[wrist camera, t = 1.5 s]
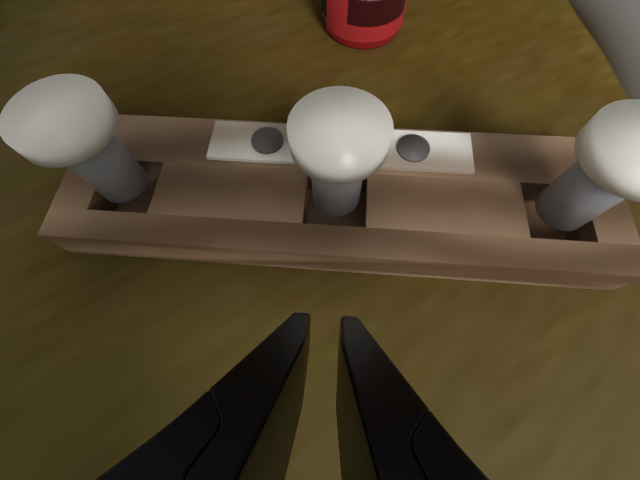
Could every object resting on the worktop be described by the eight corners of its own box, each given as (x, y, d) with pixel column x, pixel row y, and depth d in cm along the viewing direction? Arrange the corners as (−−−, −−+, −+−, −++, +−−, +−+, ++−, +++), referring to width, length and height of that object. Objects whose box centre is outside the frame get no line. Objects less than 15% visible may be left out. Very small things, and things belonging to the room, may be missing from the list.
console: (611, 290, 22) (660, 274, 19) (70, 252, 24) (30, 231, 21) (577, 164, 26) (612, 133, 23) (115, 139, 28) (88, 107, 24)
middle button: (374, 233, 20) (394, 173, 15) (293, 228, 21) (280, 166, 15) (375, 166, 22) (393, 88, 17) (301, 161, 23) (292, 83, 17)
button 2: (151, 219, 21) (83, 155, 15) (74, 214, 21) (-21, 149, 15) (171, 154, 23) (118, 75, 17) (100, 150, 23) (25, 71, 17)
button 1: (611, 249, 20) (732, 192, 14) (525, 243, 20) (608, 185, 14) (591, 178, 22) (689, 101, 16) (512, 173, 22) (581, 96, 16)
